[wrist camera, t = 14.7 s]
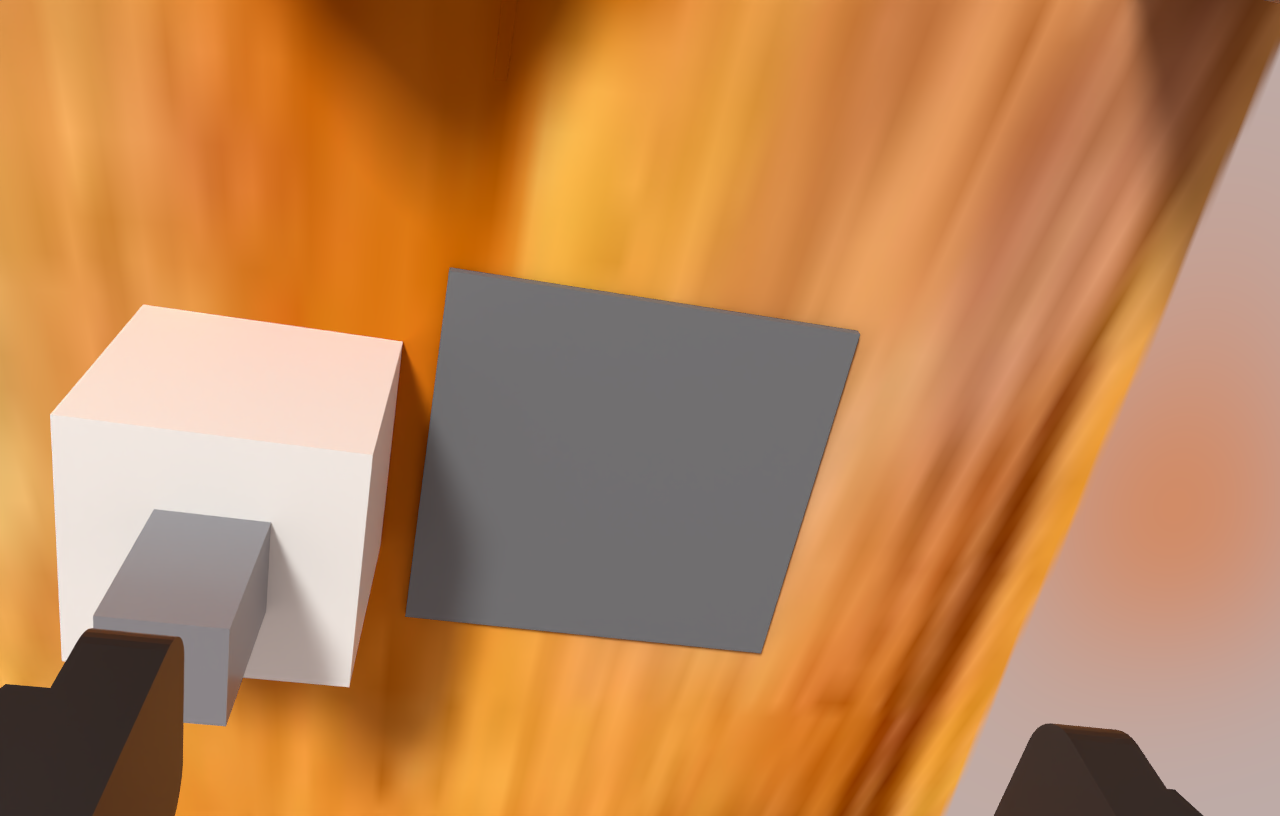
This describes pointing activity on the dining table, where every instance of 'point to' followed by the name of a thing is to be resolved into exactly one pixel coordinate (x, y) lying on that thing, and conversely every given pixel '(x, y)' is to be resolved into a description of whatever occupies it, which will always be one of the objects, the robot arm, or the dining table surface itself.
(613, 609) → the mat
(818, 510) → the dining table surface
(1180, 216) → the dining table surface
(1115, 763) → the robot arm
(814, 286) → the dining table surface
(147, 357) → the cover
